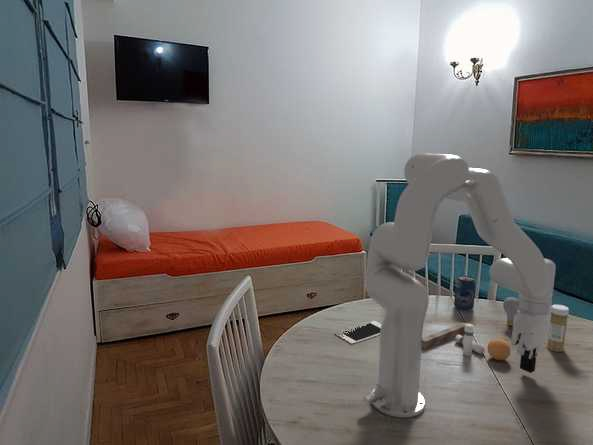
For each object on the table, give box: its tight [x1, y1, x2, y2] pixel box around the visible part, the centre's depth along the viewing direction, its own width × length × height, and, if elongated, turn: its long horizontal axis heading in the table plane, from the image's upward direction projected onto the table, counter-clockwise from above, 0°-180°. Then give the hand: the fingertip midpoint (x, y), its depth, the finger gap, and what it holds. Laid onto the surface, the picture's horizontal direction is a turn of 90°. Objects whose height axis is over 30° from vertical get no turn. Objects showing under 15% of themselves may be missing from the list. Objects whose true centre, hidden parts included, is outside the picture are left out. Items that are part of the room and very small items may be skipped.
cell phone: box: [340, 320, 382, 345], centre depth 142 cm, size 9×18×1 cm, turn 124°
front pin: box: [454, 334, 486, 355], centre depth 132 cm, size 2×2×9 cm
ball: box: [486, 338, 511, 361], centre depth 125 cm, size 6×6×6 cm
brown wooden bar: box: [421, 322, 468, 350], centre depth 138 cm, size 22×2×2 cm, turn 125°
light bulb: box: [502, 296, 519, 327], centre depth 147 cm, size 6×6×10 cm
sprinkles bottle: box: [546, 304, 570, 353], centre depth 130 cm, size 5×5×13 cm
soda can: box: [453, 275, 477, 313], centre depth 161 cm, size 7×7×12 cm
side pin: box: [462, 323, 475, 357], centre depth 127 cm, size 2×2×9 cm
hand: (527, 369), depth 116 cm, fingers closed
